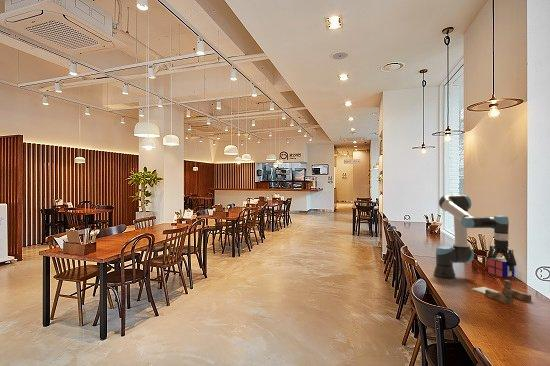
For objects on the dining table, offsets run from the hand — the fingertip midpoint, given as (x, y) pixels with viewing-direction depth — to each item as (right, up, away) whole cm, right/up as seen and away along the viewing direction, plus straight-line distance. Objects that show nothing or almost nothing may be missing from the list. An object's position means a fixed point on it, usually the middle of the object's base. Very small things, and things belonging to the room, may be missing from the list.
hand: (500, 273), depth 199 cm
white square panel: (-4, -15, +9) cm, 18 cm away
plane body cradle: (+1, -15, -4) cm, 16 cm away
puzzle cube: (0, -1, 0) cm, 1 cm away
